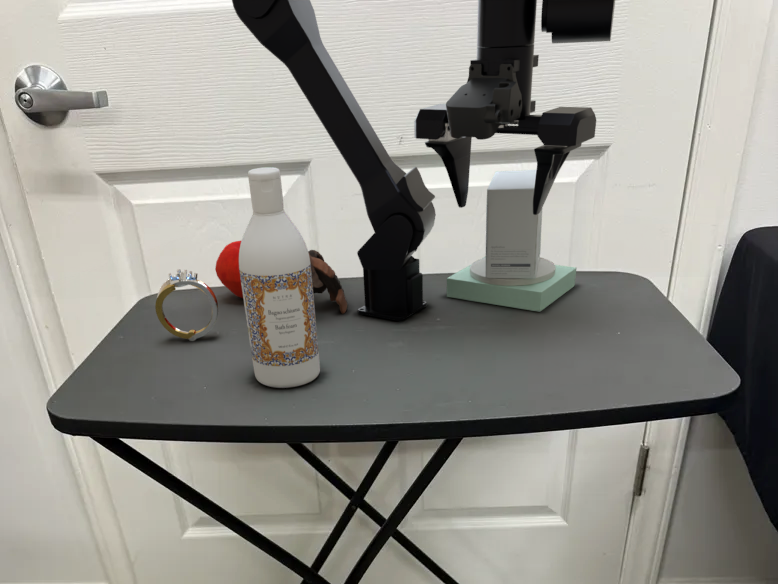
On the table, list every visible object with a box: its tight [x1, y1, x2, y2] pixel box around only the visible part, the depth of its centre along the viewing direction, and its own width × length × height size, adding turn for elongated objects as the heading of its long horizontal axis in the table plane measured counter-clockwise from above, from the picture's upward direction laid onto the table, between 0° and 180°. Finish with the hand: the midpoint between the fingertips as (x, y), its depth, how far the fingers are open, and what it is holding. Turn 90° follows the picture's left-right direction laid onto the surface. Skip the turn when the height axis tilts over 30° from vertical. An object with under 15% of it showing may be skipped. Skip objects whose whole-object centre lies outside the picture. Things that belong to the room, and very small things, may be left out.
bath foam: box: [239, 166, 321, 389], centre depth 76 cm, size 7×7×20 cm
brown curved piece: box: [308, 249, 348, 314], centre depth 98 cm, size 12×10×8 cm
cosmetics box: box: [485, 169, 543, 279], centre depth 95 cm, size 10×6×10 cm, turn 167°
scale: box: [446, 255, 577, 312], centre depth 100 cm, size 13×11×3 cm
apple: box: [214, 240, 243, 299], centre depth 101 cm, size 8×8×7 cm
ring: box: [154, 268, 219, 342], centre depth 89 cm, size 7×3×8 cm, turn 92°
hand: (498, 210), depth 87 cm, fingers open, 9 cm apart
